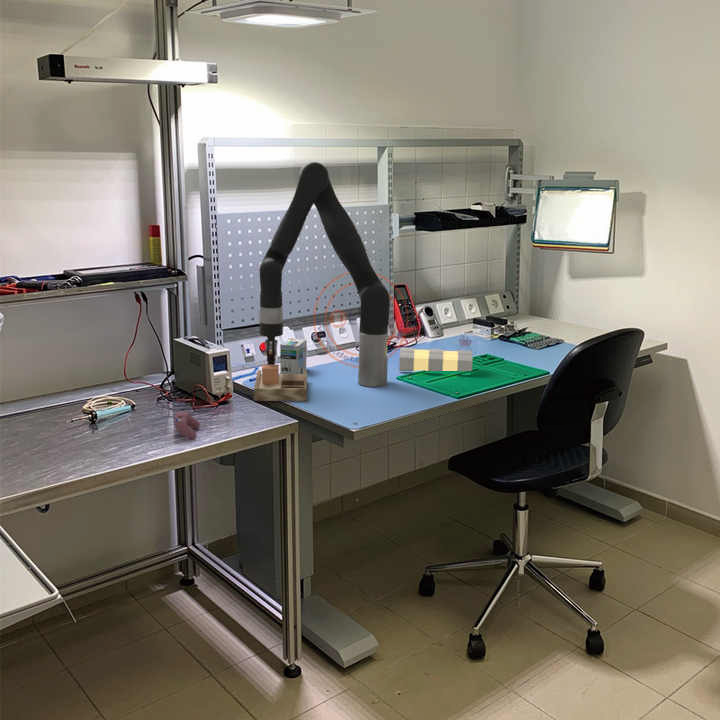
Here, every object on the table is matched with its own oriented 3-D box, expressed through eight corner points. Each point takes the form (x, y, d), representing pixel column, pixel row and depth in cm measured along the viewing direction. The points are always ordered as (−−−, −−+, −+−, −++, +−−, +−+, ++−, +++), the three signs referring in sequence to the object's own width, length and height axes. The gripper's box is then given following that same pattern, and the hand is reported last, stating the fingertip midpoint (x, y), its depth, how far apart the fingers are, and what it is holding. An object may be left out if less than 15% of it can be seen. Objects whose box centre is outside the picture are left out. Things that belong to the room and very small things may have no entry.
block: (278, 379, 259) (278, 364, 257) (278, 383, 254) (278, 368, 253) (262, 379, 258) (262, 364, 257) (262, 383, 253) (262, 368, 252)
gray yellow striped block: (470, 370, 288) (472, 334, 284) (471, 377, 278) (473, 340, 274) (400, 366, 290) (401, 331, 287) (398, 374, 280) (400, 337, 277)
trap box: (306, 381, 267) (306, 370, 266) (306, 400, 245) (307, 389, 244) (257, 381, 265) (257, 370, 265) (253, 400, 244) (253, 389, 243)
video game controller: (186, 433, 219) (173, 411, 217) (201, 425, 219) (189, 403, 217) (182, 445, 210) (168, 423, 208) (197, 438, 210) (184, 415, 208)
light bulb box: (298, 376, 272) (298, 345, 270) (279, 375, 273) (279, 344, 271) (307, 369, 282) (307, 339, 280) (288, 367, 284) (288, 337, 281)
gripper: (282, 324, 252) (282, 378, 257) (283, 316, 265) (283, 367, 269) (258, 324, 252) (258, 378, 256) (260, 316, 265) (260, 367, 269)
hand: (271, 372), depth 263 cm, fingers closed
